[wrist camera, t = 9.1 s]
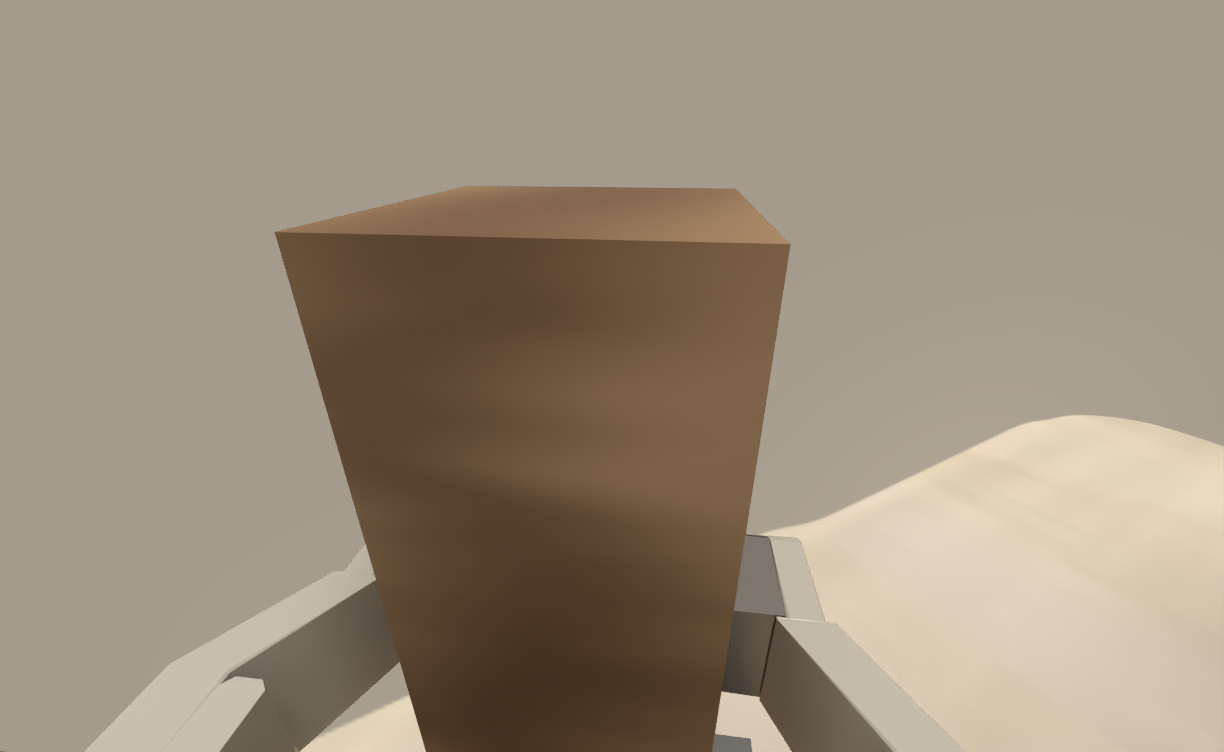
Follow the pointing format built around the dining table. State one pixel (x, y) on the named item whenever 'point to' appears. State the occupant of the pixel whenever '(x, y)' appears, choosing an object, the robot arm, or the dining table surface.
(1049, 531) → the dining table surface
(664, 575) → the walnut peg
